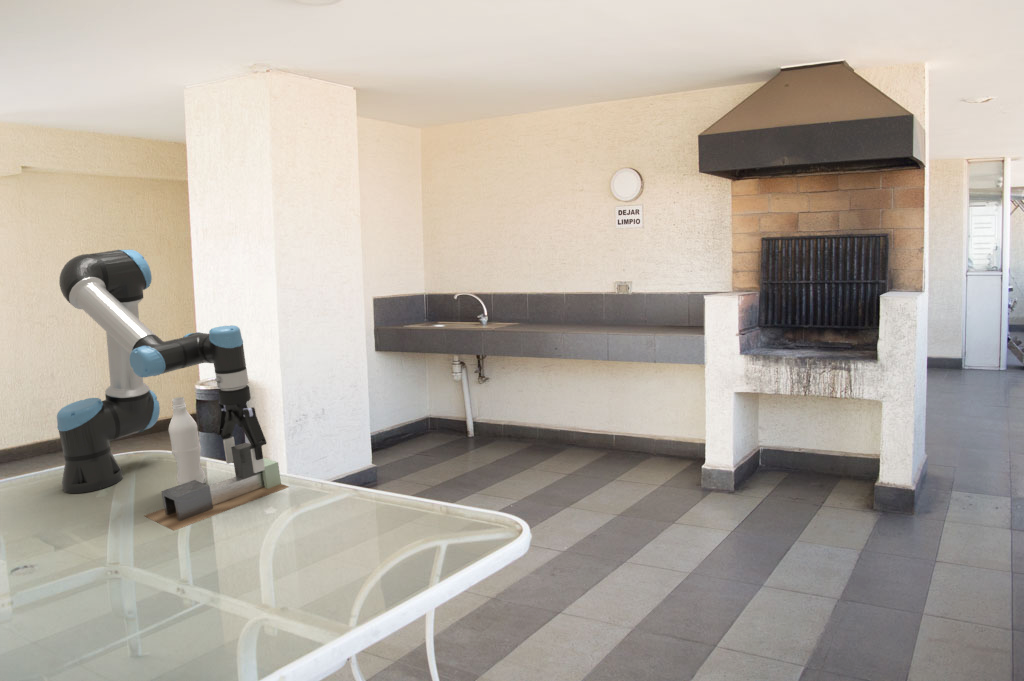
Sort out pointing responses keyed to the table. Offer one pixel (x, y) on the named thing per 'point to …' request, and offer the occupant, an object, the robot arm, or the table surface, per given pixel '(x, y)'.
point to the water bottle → (185, 444)
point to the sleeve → (187, 499)
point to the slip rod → (238, 477)
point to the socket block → (271, 473)
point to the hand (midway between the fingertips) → (245, 466)
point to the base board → (175, 524)
